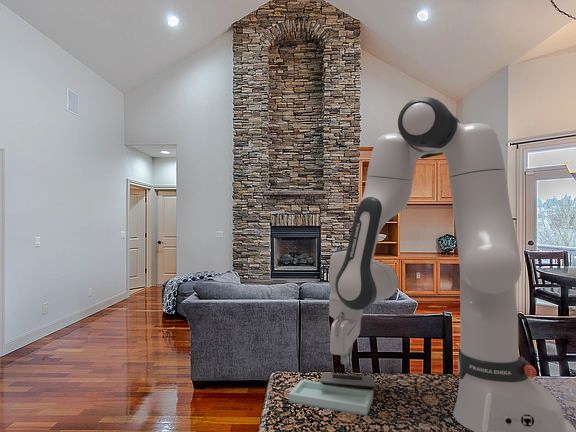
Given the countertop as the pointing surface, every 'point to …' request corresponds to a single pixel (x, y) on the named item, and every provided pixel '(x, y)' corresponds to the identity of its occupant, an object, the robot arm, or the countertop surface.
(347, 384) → the electrical outlet
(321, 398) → the parts tray
